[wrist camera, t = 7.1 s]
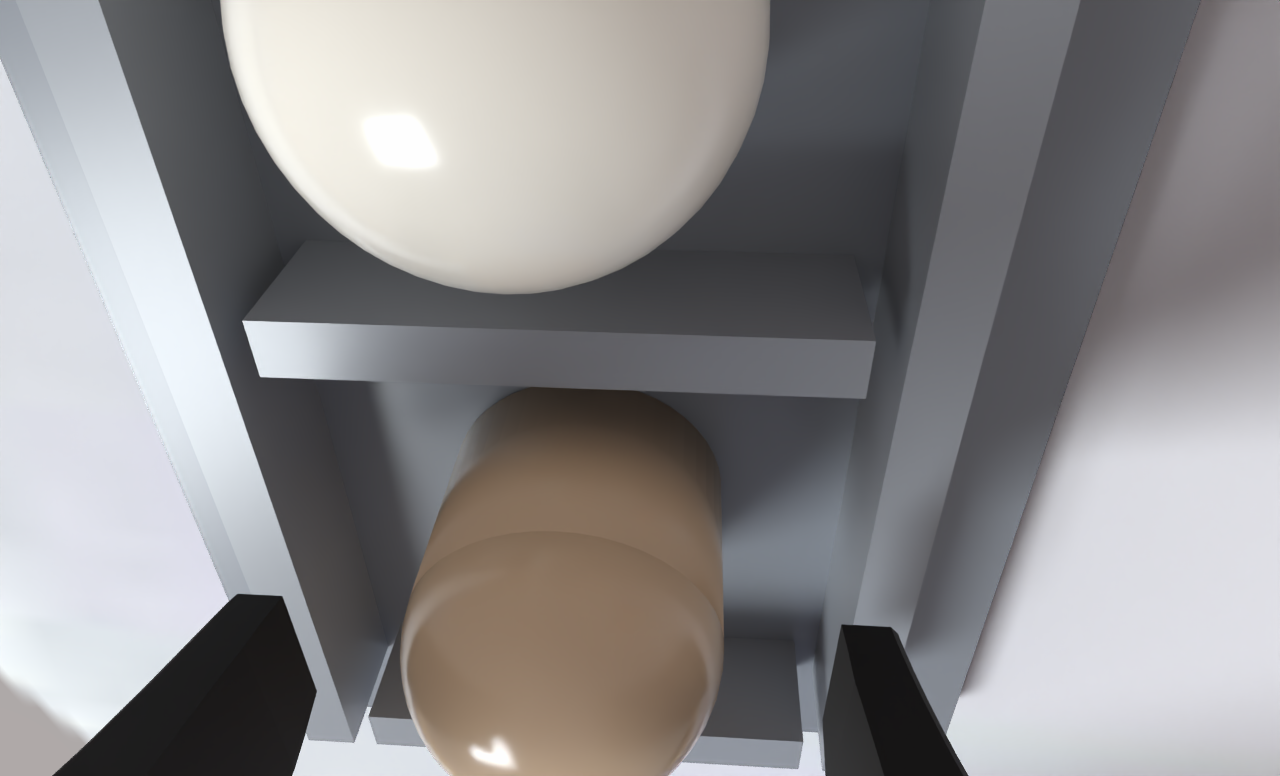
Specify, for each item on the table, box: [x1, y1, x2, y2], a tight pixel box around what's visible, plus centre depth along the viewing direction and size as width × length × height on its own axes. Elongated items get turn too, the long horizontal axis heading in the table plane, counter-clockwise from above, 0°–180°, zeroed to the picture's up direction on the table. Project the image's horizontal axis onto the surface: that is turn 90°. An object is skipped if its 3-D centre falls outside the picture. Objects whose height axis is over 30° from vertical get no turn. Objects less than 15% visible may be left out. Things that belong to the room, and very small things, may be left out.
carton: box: [0, 0, 1201, 771], centre depth 11 cm, size 20×14×3 cm, turn 0°
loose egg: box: [400, 387, 724, 776], centre depth 12 cm, size 4×4×5 cm
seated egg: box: [220, 0, 770, 294], centre depth 8 cm, size 4×4×5 cm
